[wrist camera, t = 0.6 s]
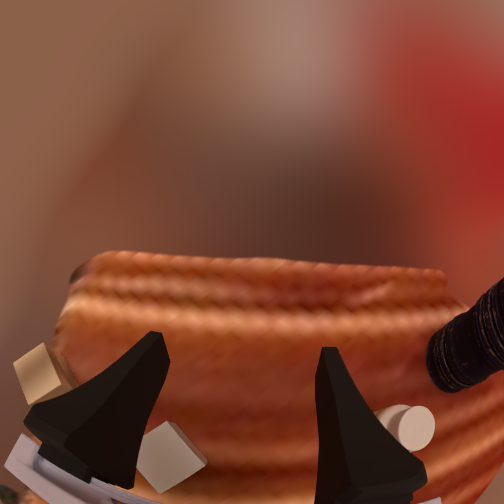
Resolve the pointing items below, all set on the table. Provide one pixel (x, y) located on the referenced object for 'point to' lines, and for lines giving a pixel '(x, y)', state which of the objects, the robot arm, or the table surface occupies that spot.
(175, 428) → the white cube
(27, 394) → the birch block
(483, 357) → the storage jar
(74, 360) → the table surface
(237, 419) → the table surface
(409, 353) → the table surface
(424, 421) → the supplement bottle
